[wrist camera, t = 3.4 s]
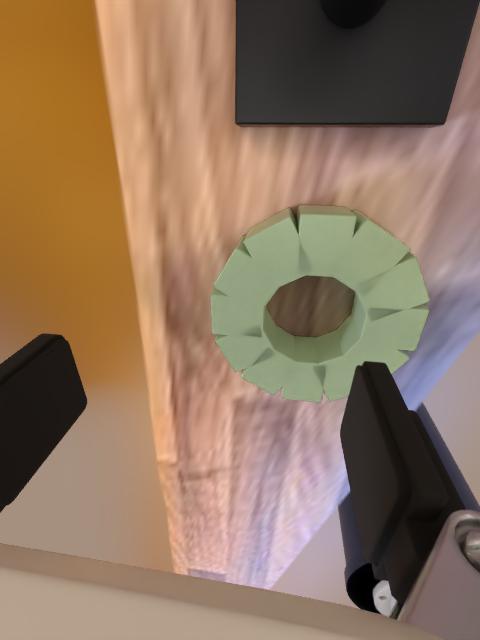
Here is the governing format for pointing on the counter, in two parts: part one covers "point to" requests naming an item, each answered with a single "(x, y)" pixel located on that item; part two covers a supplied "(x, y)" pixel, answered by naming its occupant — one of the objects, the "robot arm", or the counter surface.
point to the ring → (328, 261)
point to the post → (349, 61)
